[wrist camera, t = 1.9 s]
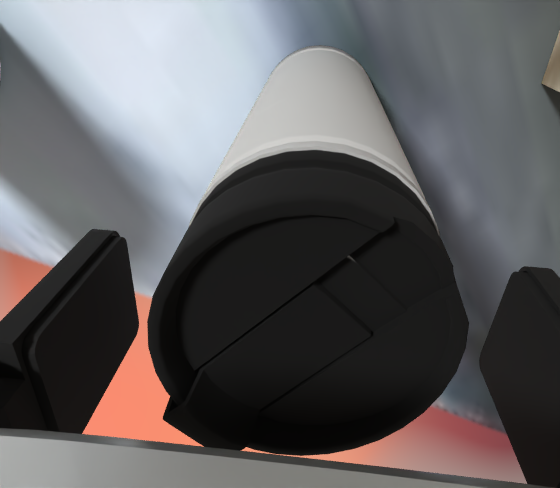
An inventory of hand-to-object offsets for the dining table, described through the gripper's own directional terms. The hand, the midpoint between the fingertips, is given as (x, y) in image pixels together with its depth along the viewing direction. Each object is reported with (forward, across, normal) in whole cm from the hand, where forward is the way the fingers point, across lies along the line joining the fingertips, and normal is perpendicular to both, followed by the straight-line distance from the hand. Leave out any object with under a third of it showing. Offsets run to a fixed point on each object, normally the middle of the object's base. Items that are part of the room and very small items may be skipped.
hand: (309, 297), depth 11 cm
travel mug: (+17, 0, -1) cm, 17 cm away
